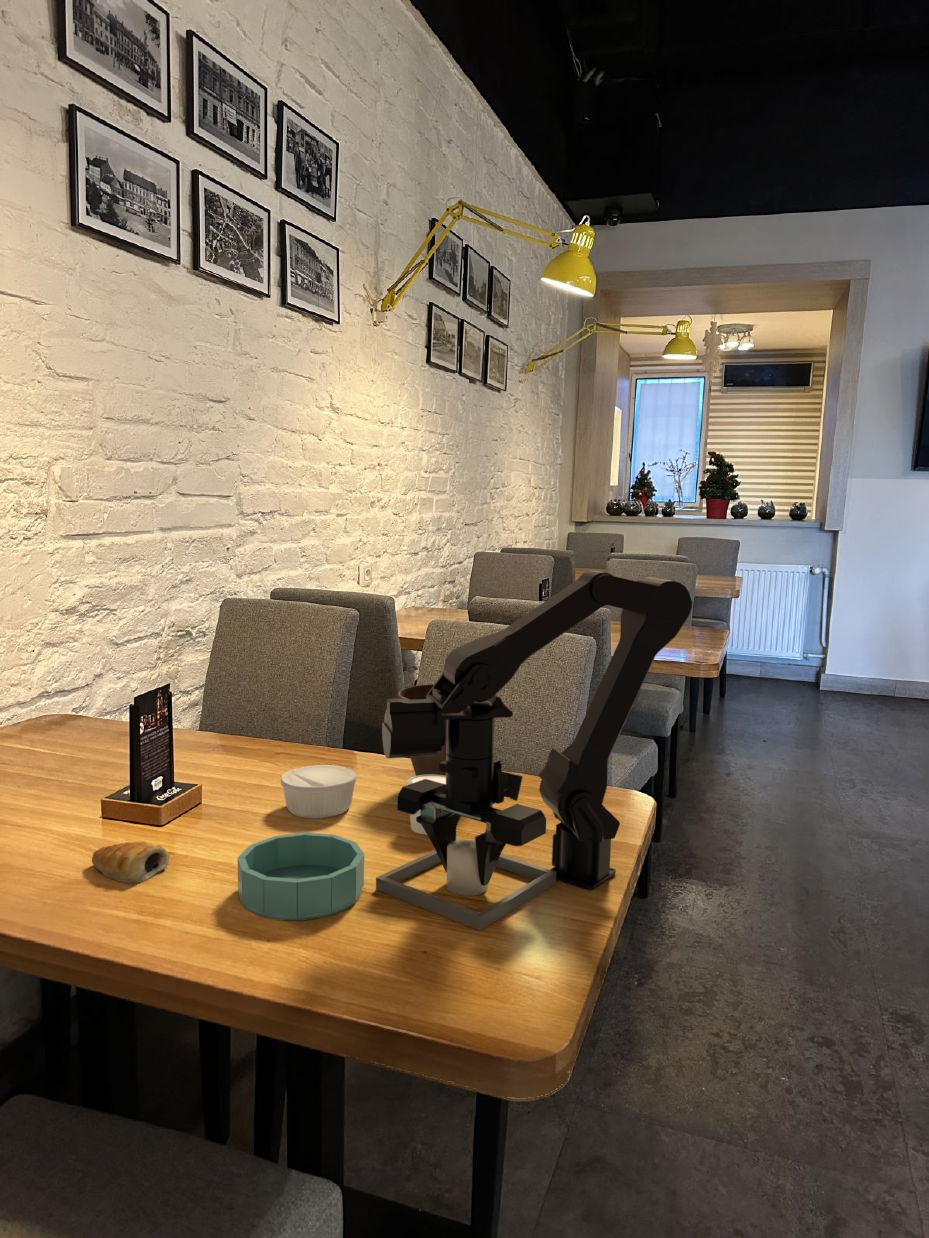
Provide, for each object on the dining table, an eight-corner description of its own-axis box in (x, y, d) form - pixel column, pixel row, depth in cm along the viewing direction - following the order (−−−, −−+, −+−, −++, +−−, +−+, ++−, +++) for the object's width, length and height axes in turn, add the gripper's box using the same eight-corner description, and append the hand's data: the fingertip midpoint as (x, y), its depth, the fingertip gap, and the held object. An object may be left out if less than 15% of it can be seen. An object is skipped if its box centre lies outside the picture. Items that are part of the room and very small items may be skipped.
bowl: (386, 889, 101) (387, 853, 101) (295, 933, 90) (295, 893, 89) (306, 857, 110) (306, 824, 109) (214, 894, 99) (213, 857, 98)
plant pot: (497, 800, 134) (499, 701, 132) (403, 805, 131) (405, 704, 129) (476, 772, 148) (478, 683, 146) (392, 775, 145) (393, 684, 143)
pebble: (495, 885, 103) (496, 846, 102) (470, 899, 99) (471, 858, 98) (463, 874, 106) (464, 835, 105) (438, 887, 102) (438, 847, 101)
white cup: (397, 830, 120) (397, 783, 119) (421, 815, 126) (422, 770, 125) (439, 839, 117) (440, 791, 116) (462, 824, 123) (463, 778, 122)
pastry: (77, 874, 104) (76, 844, 103) (118, 854, 110) (118, 826, 110) (137, 888, 100) (136, 857, 100) (176, 867, 107) (175, 838, 106)
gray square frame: (556, 883, 104) (556, 871, 104) (480, 930, 92) (480, 917, 91) (456, 850, 113) (456, 839, 113) (375, 889, 101) (376, 877, 101)
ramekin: (268, 817, 124) (268, 782, 124) (300, 793, 135) (300, 761, 135) (339, 825, 122) (339, 789, 121) (366, 800, 133) (366, 768, 132)
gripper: (572, 753, 101) (568, 878, 103) (451, 727, 112) (449, 839, 114) (520, 775, 92) (516, 910, 94) (394, 744, 104) (393, 865, 106)
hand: (467, 878), depth 102 cm, fingers closed on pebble, 5 cm apart
